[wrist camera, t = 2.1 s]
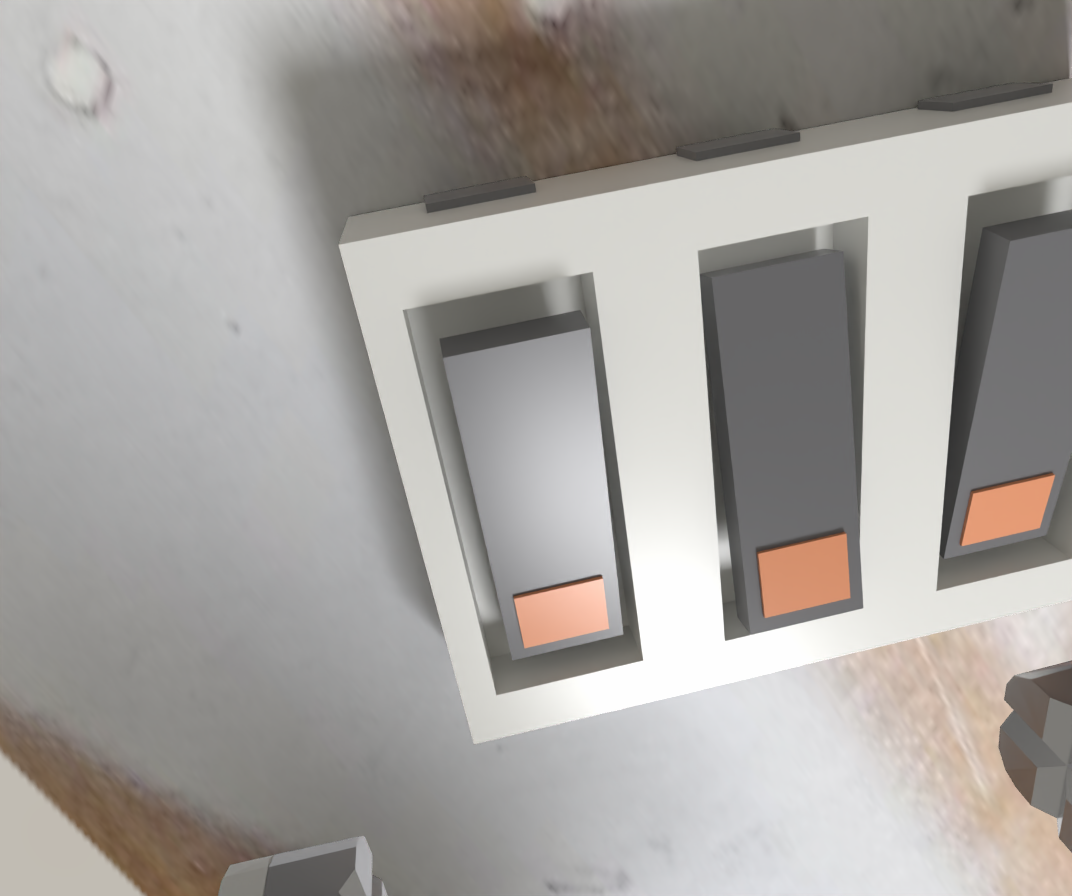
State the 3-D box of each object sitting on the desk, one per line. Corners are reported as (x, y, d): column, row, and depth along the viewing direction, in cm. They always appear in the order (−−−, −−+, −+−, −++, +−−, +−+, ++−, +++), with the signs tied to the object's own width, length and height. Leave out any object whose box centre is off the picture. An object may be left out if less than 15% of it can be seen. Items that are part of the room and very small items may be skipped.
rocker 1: (614, 610, 29) (624, 637, 28) (507, 635, 29) (512, 663, 28) (580, 309, 22) (591, 329, 21) (439, 338, 22) (443, 360, 21)
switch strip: (1011, 533, 34) (1093, 595, 30) (464, 661, 32) (473, 744, 28) (1071, 69, 26) (1194, 68, 22) (346, 208, 24) (335, 235, 20)
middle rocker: (845, 591, 28) (865, 609, 27) (737, 617, 28) (752, 636, 26) (823, 248, 24) (845, 251, 23) (698, 274, 24) (713, 278, 23)
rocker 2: (1023, 515, 30) (1048, 537, 29) (924, 538, 30) (945, 561, 29) (1110, 201, 23) (1147, 214, 22) (982, 227, 23) (1013, 242, 22)
